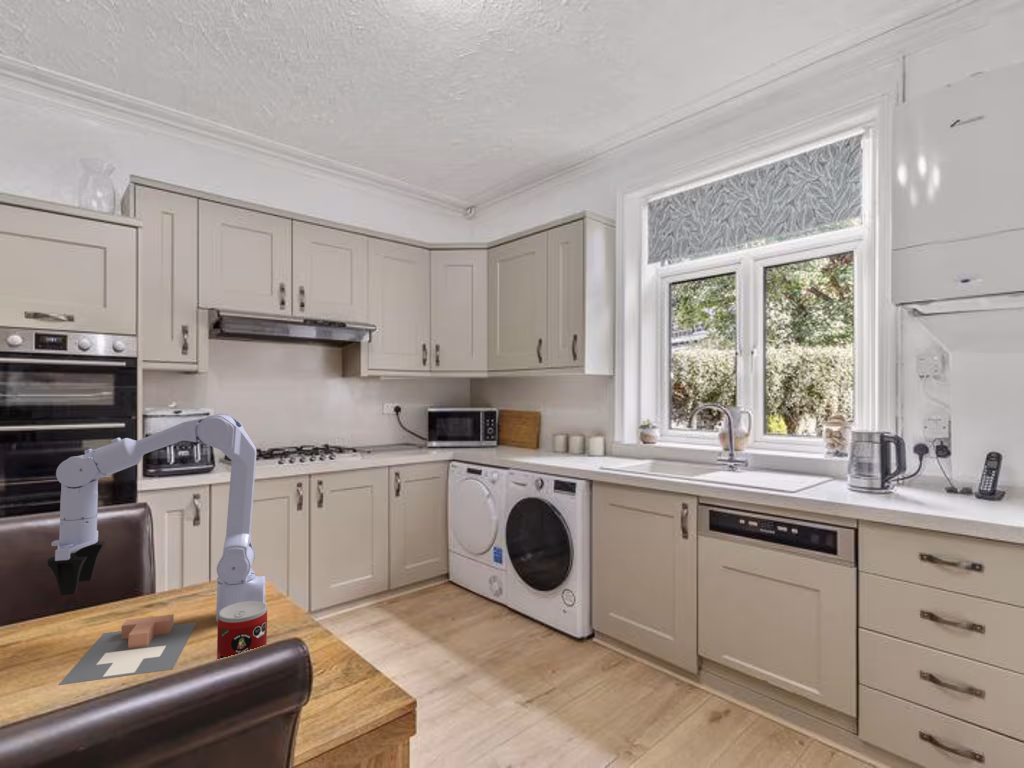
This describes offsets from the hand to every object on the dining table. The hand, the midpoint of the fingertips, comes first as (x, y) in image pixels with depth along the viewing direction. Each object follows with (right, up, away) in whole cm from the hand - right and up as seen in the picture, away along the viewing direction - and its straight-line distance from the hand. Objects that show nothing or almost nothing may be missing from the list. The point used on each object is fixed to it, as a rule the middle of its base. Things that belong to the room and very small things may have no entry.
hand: (76, 587), depth 105 cm
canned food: (+38, -11, -12) cm, 41 cm away
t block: (+14, -9, -1) cm, 17 cm away
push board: (+16, -10, -6) cm, 20 cm away
